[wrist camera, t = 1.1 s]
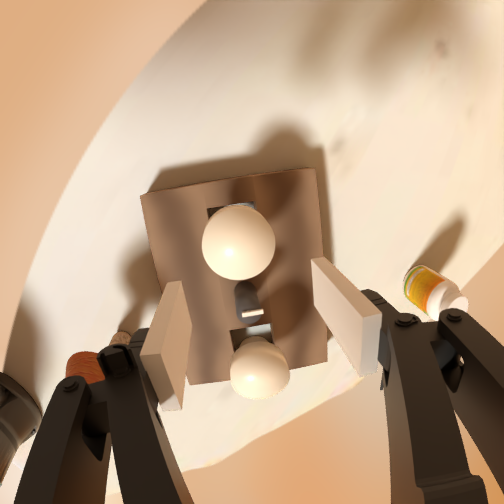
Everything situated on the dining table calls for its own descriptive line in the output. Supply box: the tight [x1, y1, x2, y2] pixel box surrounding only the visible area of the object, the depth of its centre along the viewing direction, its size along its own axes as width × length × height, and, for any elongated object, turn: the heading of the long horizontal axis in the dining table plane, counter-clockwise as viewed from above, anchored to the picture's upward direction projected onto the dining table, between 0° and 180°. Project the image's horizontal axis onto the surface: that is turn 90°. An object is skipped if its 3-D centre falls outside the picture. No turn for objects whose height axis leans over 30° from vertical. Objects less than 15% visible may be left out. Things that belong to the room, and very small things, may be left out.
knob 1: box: [202, 205, 275, 280], centre depth 28 cm, size 6×6×6 cm
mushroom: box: [65, 331, 131, 384], centre depth 30 cm, size 8×8×15 cm
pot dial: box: [234, 281, 264, 324], centre depth 31 cm, size 2×2×5 cm
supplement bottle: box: [403, 265, 468, 321], centre depth 35 cm, size 5×5×10 cm
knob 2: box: [230, 336, 290, 399], centre depth 32 cm, size 6×6×6 cm
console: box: [140, 168, 327, 385], centre depth 35 cm, size 18×24×3 cm
